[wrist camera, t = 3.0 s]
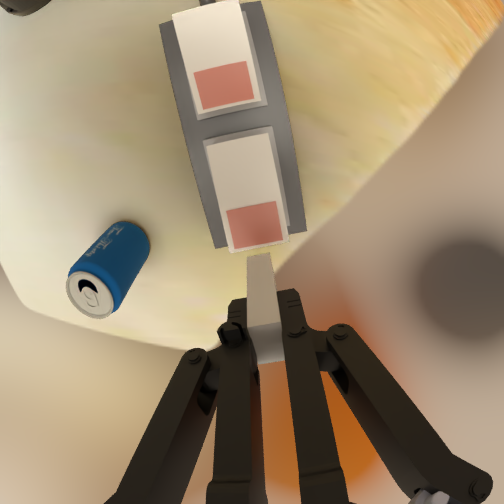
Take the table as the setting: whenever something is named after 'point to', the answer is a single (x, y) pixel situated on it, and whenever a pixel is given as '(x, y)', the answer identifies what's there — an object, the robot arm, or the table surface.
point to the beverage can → (107, 270)
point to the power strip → (238, 121)
